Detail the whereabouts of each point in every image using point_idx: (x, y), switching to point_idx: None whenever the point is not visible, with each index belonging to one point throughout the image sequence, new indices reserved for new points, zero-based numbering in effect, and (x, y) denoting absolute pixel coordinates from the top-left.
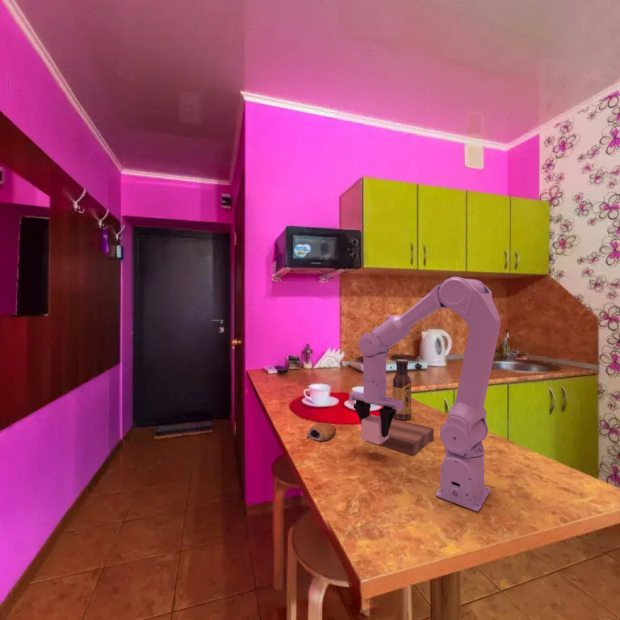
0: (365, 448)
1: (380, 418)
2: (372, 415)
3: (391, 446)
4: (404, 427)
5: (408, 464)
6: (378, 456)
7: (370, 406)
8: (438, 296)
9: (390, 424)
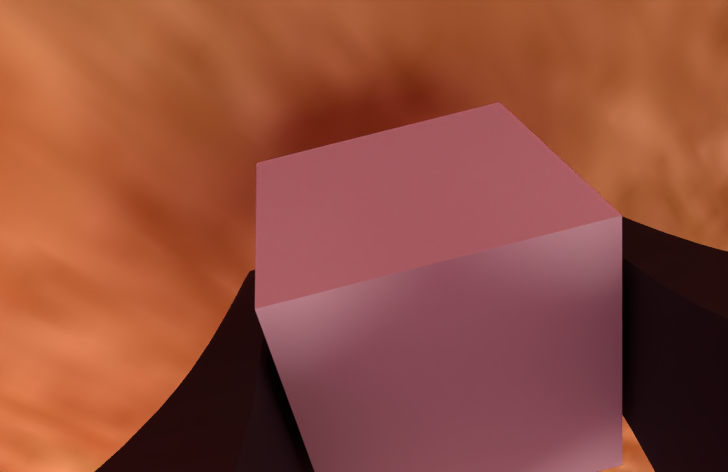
0: (174, 103)
1: (500, 312)
2: (294, 319)
3: None
4: None
5: (643, 22)
6: (376, 124)
7: (239, 456)
8: None
9: (660, 235)
